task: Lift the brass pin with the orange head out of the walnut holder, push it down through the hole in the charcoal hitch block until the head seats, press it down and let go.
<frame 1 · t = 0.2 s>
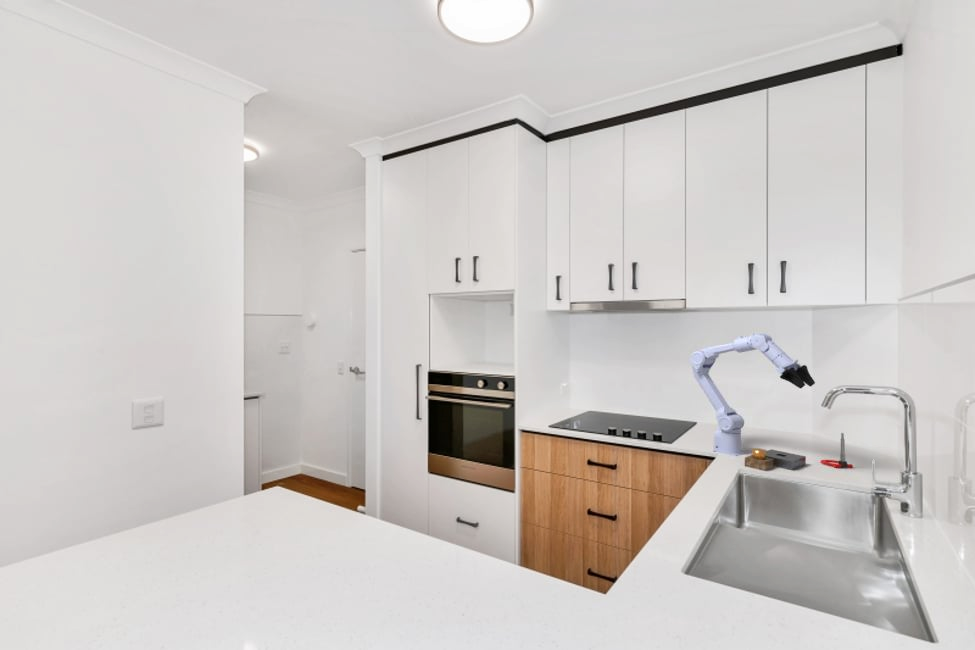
hand: (807, 385, 173), 31 cm above the worktop, tool tilted 45°, fingers open, 7 cm apart
hitch block: (781, 464, 180), on the worktop
pin: (758, 466, 176), resting in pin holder
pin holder: (758, 467, 176), on the worktop
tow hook: (835, 465, 181), on the worktop
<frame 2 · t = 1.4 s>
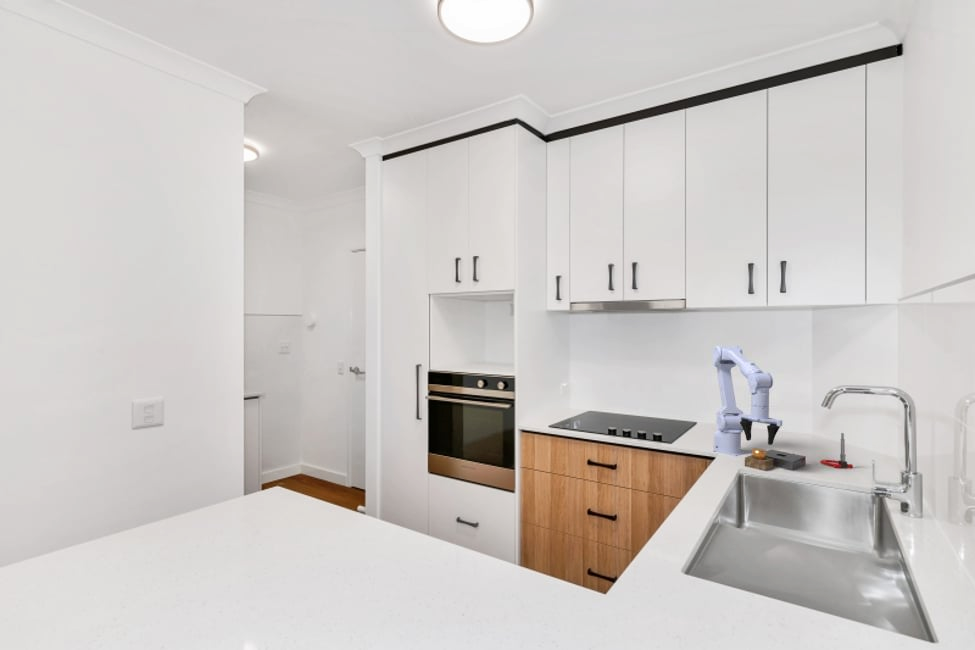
hand: (759, 442, 176), 9 cm above the worktop, tool pointing down, fingers open, 7 cm apart
nothing on the worktop moved.
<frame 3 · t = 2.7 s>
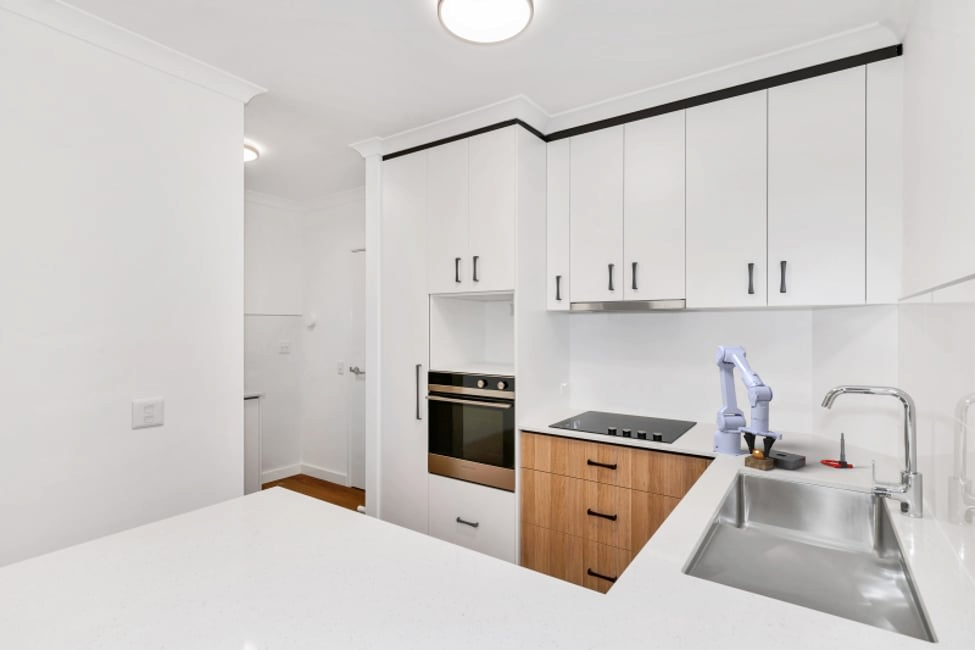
hand: (759, 455, 176), 5 cm above the worktop, tool pointing down, fingers closed on pin, 4 cm apart
pin: (758, 466, 176), resting in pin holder, touching gripper
everything else where it was.
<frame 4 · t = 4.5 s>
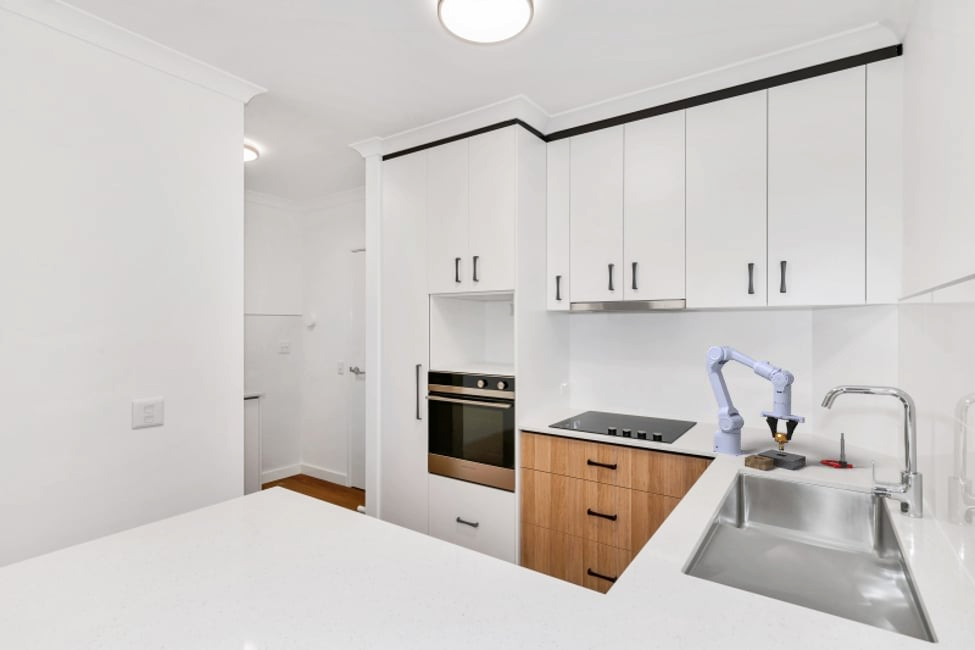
hand: (781, 438, 180), 10 cm above the worktop, tool pointing down, fingers closed on pin, 4 cm apart
pin: (781, 450, 180), point 5 cm above the worktop, touching gripper
everything else where it was.
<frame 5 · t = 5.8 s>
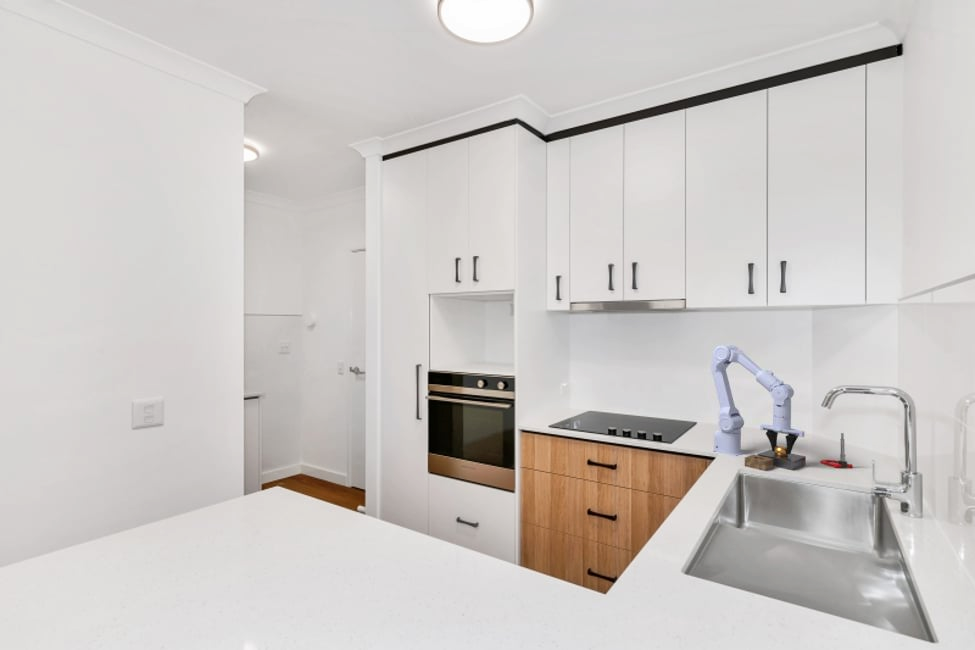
hand: (781, 452, 180), 5 cm above the worktop, tool pointing down, fingers closed on pin, 4 cm apart
pin: (781, 463, 180), resting in hitch block, touching gripper
everything else where it was.
when the fingers open (4 cm above the worktop, at t = 6.4 s): pin stays where it is, resting on hitch block.
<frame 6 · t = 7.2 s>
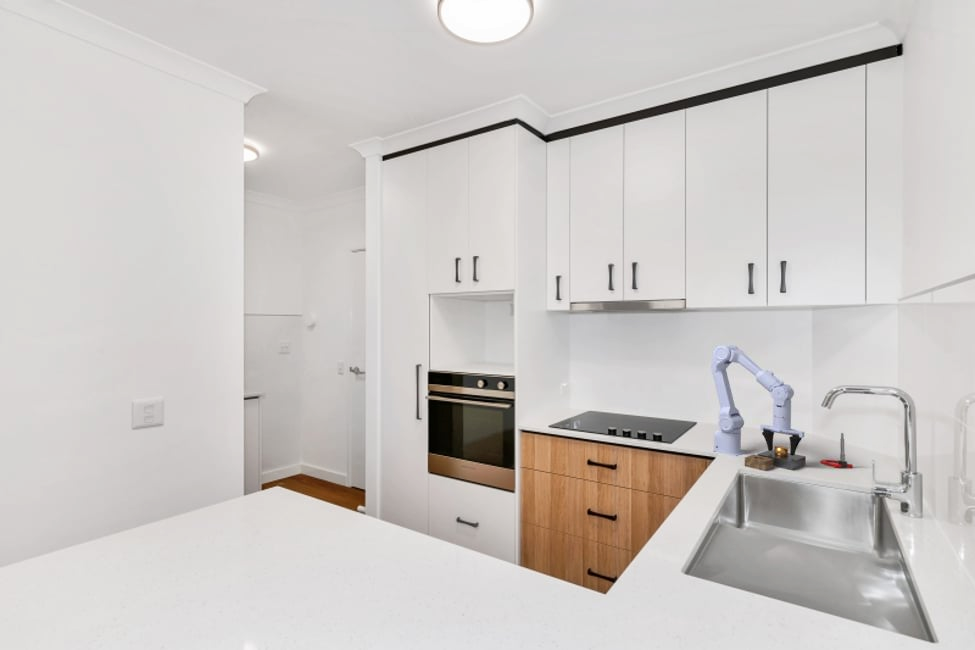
hand: (781, 452, 180), 4 cm above the worktop, tool pointing down, fingers open, 7 cm apart
pin: (781, 463, 180), resting on hitch block
everything else where it was.
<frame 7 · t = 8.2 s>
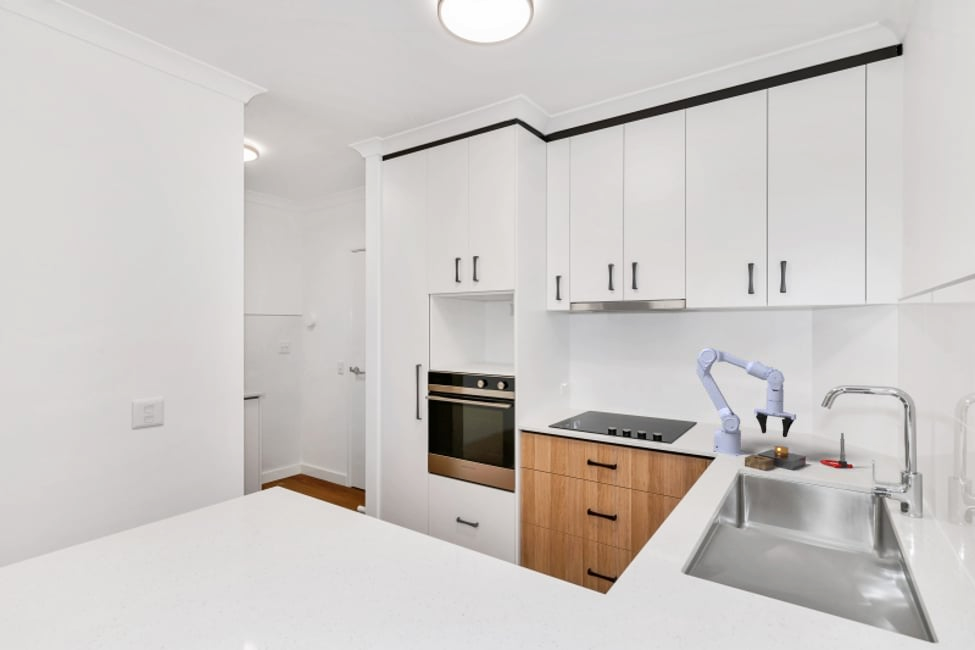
hand: (774, 434, 188), 9 cm above the worktop, tool pointing down, fingers open, 7 cm apart
nothing on the worktop moved.
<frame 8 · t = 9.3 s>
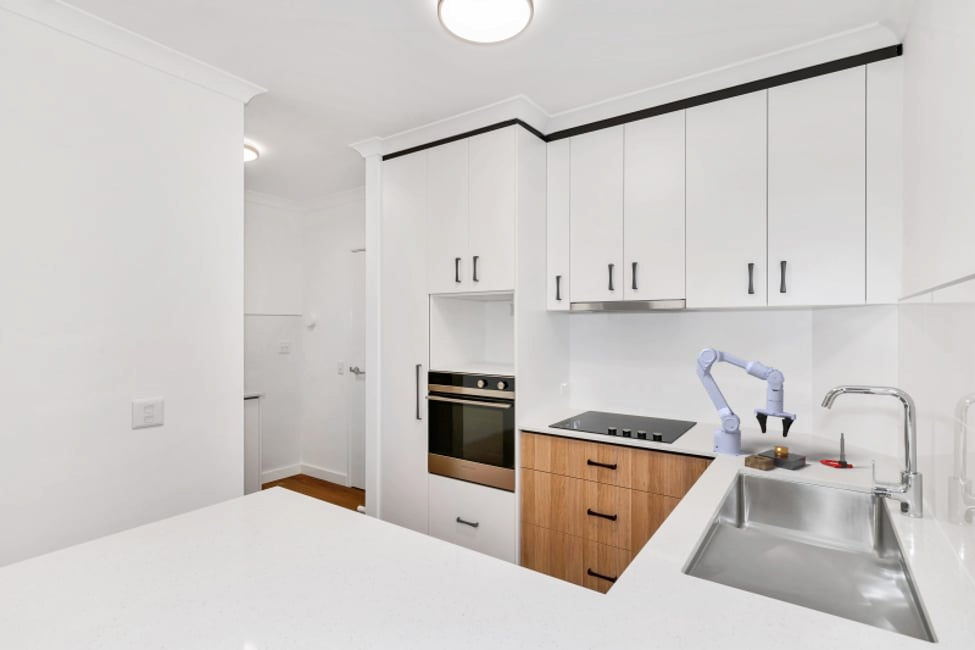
hand: (774, 434, 188), 9 cm above the worktop, tool pointing down, fingers open, 7 cm apart
nothing on the worktop moved.
at the end: pin 0.2 cm off-centre on the hitch block, point 0.3 cm above the hitch block's base; pin tilted 0°; the gripper is holding nothing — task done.
